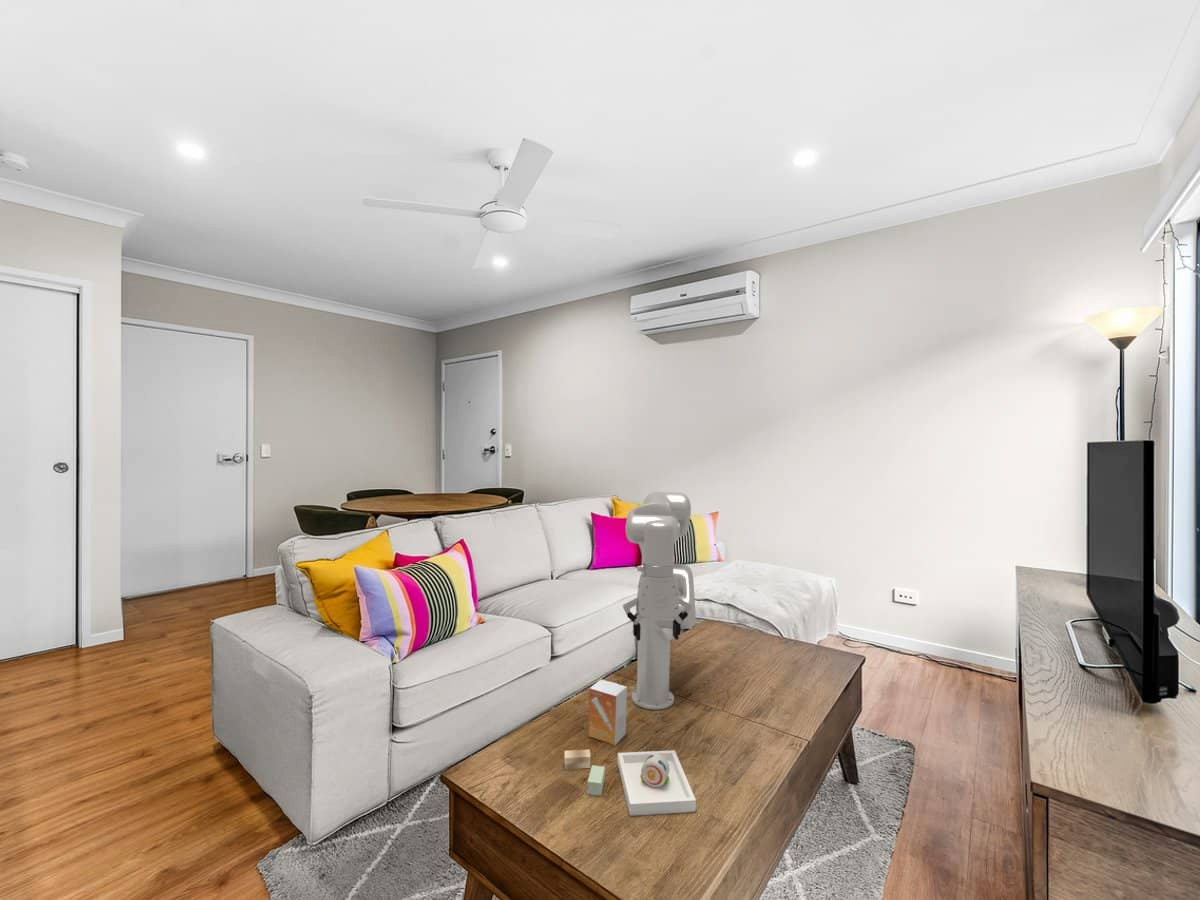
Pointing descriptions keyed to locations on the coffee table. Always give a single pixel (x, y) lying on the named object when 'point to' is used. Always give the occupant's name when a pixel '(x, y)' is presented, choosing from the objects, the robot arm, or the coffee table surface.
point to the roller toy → (655, 770)
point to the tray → (655, 799)
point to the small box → (607, 711)
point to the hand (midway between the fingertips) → (656, 638)
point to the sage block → (596, 780)
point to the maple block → (577, 759)
